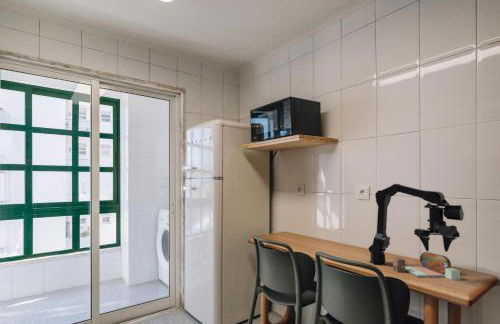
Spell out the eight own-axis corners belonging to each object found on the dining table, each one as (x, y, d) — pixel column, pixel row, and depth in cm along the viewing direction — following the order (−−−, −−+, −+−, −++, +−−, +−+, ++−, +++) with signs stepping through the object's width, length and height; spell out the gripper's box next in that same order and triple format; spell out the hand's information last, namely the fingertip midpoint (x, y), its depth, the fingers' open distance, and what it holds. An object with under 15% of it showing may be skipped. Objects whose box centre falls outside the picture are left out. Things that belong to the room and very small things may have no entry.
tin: (419, 266, 152) (419, 250, 152) (424, 266, 153) (423, 250, 153) (448, 275, 137) (447, 257, 138) (452, 274, 139) (452, 256, 139)
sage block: (451, 279, 131) (451, 270, 131) (445, 277, 135) (445, 268, 135) (460, 279, 131) (459, 270, 131) (453, 277, 135) (453, 268, 135)
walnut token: (397, 272, 141) (397, 259, 141) (393, 269, 145) (392, 257, 145) (405, 272, 141) (405, 259, 142) (400, 269, 145) (400, 257, 145)
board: (417, 277, 133) (417, 275, 133) (397, 267, 150) (397, 265, 150) (444, 277, 134) (444, 275, 134) (421, 267, 151) (421, 265, 151)
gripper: (428, 220, 128) (429, 255, 127) (468, 220, 129) (469, 256, 128) (413, 216, 139) (413, 249, 138) (450, 217, 140) (450, 250, 139)
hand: (436, 251), depth 136 cm, fingers open, 9 cm apart
